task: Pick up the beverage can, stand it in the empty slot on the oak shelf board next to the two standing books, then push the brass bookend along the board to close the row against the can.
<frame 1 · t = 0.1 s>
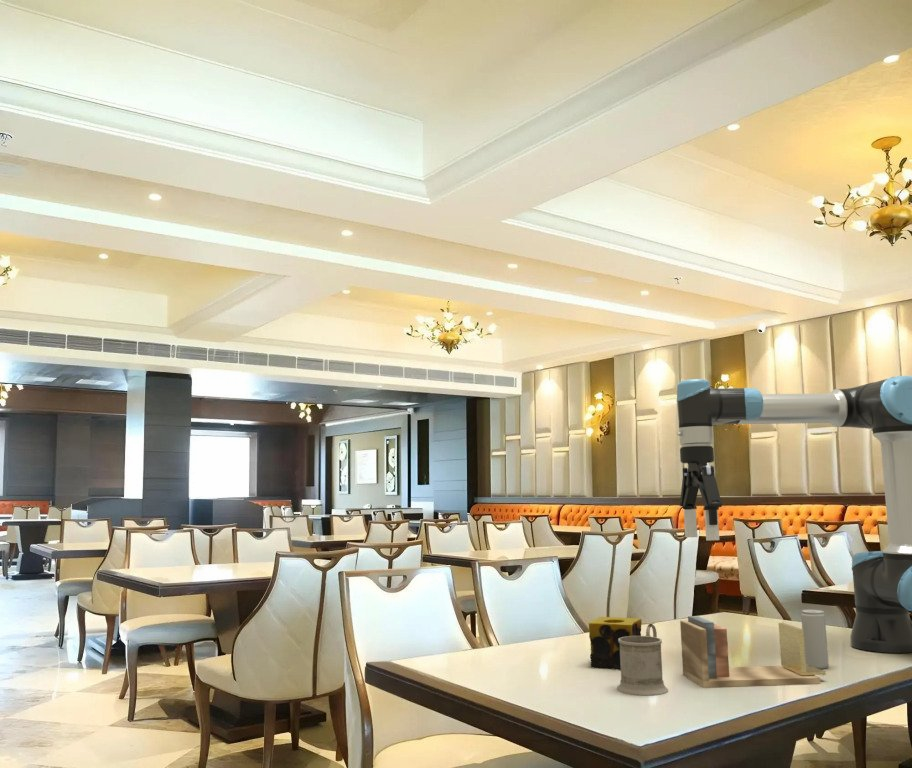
hand: (701, 538, 188), 28 cm above the table, fingers open, 13 cm apart
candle: (617, 666, 186), on the table
shelf: (749, 679, 170), on the table
mug: (646, 688, 164), on the table
beverage can: (816, 668, 180), on the table
bookend: (801, 647, 171), point 6 cm above the table, slide at 0.0 cm
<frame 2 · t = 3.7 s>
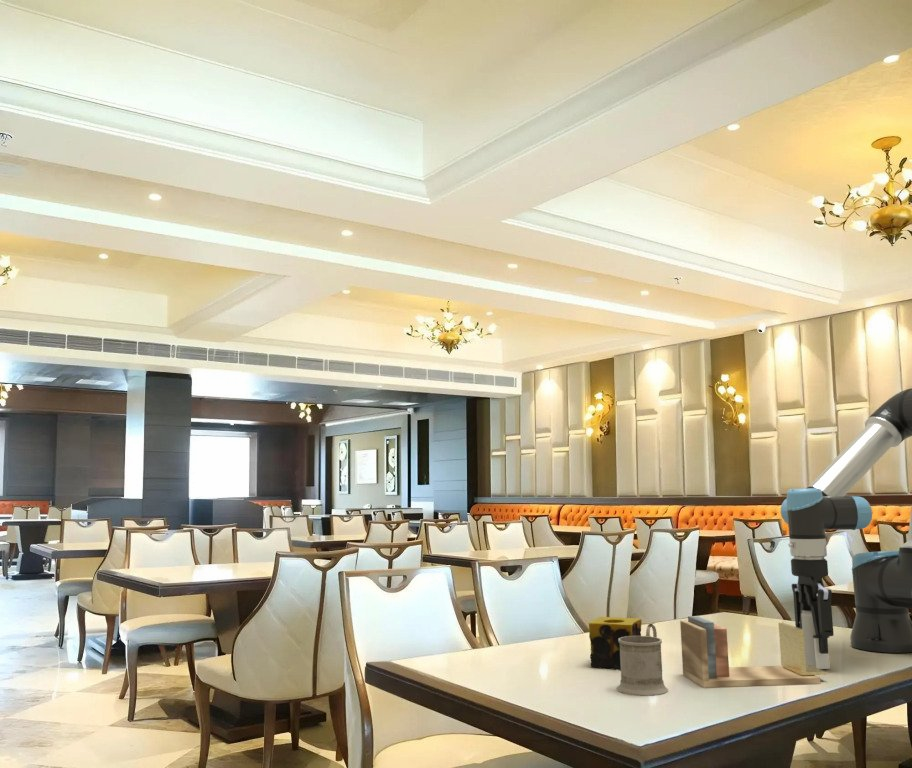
hand: (816, 665, 180), 0 cm above the table, fingers closed on beverage can, 5 cm apart
beverage can: (816, 668, 180), on the table, touching gripper
everything else where it was.
when the fingers open (3 cm above the table, at t = 8.4 s): beverage can drops 1 cm, resting on shelf.
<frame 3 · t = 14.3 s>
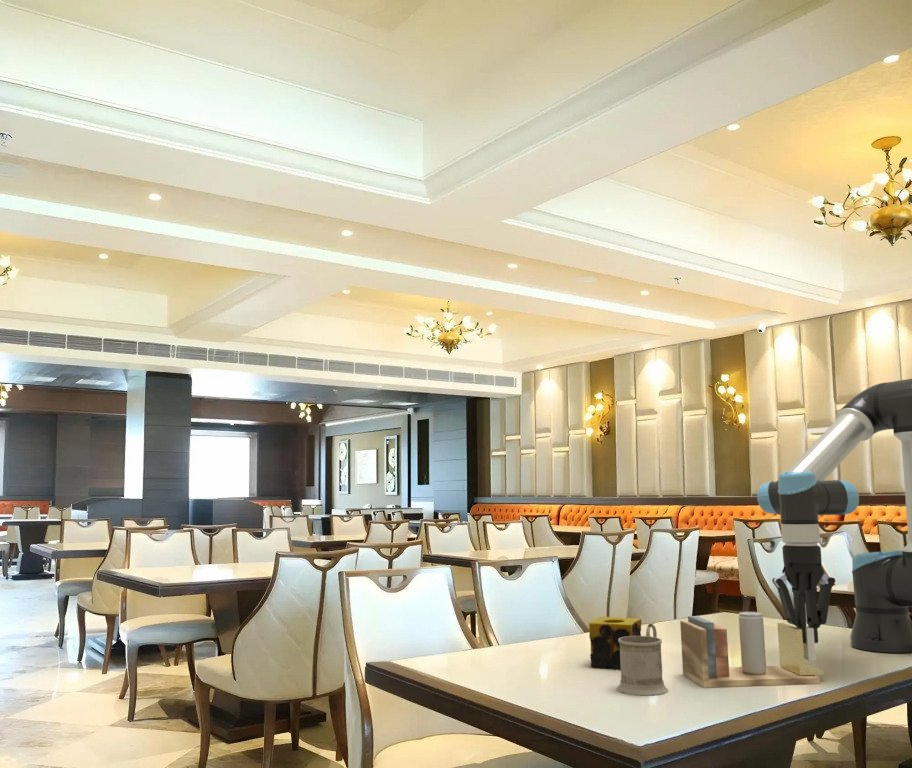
hand: (809, 659, 171), 4 cm above the table, fingers closed
beverage can: (754, 673, 170), point 1 cm above the table, touching shelf
bookend: (800, 647, 171), point 6 cm above the table, slide at 0.3 cm, touching gripper
everything else where it was.
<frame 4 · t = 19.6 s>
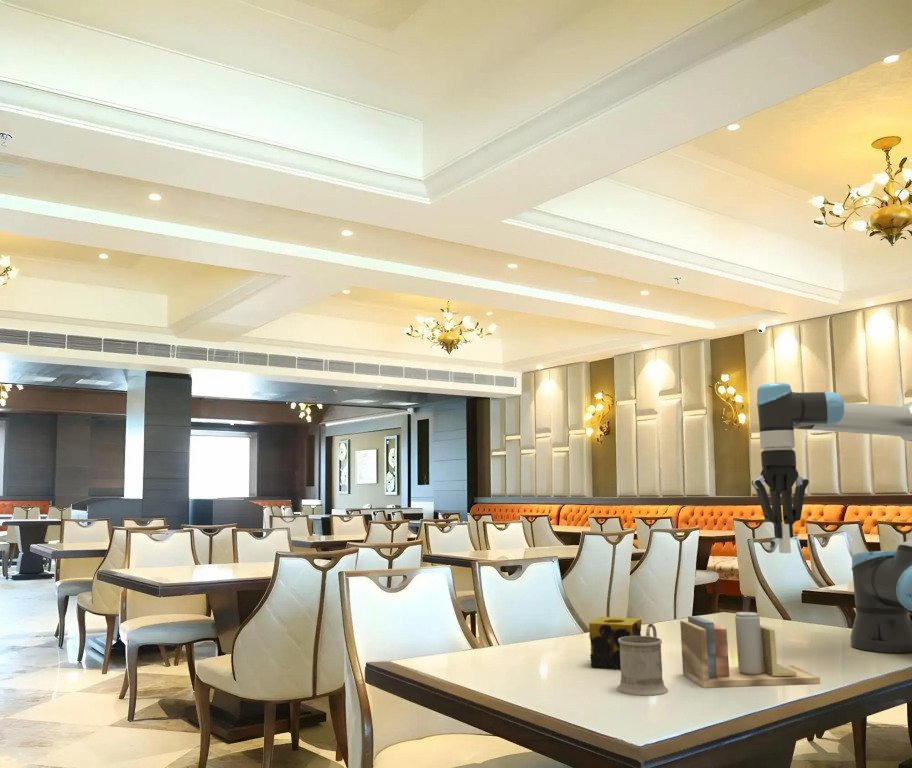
hand: (785, 552, 188), 24 cm above the table, fingers closed
bookend: (773, 648, 171), point 6 cm above the table, slide at 6.0 cm
everything else where it was.
at the end: beverage can inside the target area on the shelf (0.5 cm from its centre), point 1.0 cm above the shelf's base; beverage can tilted 0°; bookend slide at 6.0 cm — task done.
